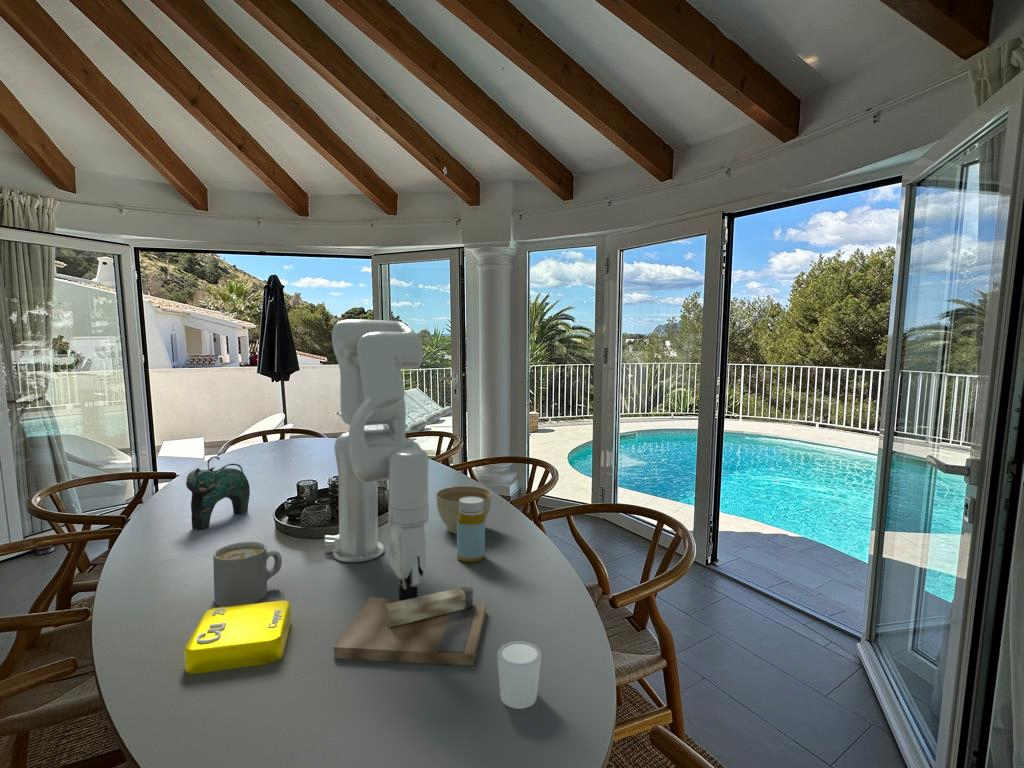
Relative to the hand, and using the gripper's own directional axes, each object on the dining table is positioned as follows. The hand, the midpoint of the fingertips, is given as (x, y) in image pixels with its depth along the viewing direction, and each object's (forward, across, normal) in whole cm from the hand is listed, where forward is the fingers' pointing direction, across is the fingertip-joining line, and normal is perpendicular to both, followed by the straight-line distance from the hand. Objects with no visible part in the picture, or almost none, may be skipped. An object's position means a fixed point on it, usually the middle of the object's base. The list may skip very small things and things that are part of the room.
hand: (408, 605), depth 103 cm
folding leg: (+1, +3, +4) cm, 5 cm away
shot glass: (+3, +29, +9) cm, 31 cm away
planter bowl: (+4, -43, +28) cm, 52 cm away
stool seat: (+3, +5, 0) cm, 6 cm away
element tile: (+4, -5, -29) cm, 30 cm away
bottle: (+4, -23, +23) cm, 33 cm away
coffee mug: (+4, -25, -27) cm, 37 cm away
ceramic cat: (+4, -81, -35) cm, 88 cm away
